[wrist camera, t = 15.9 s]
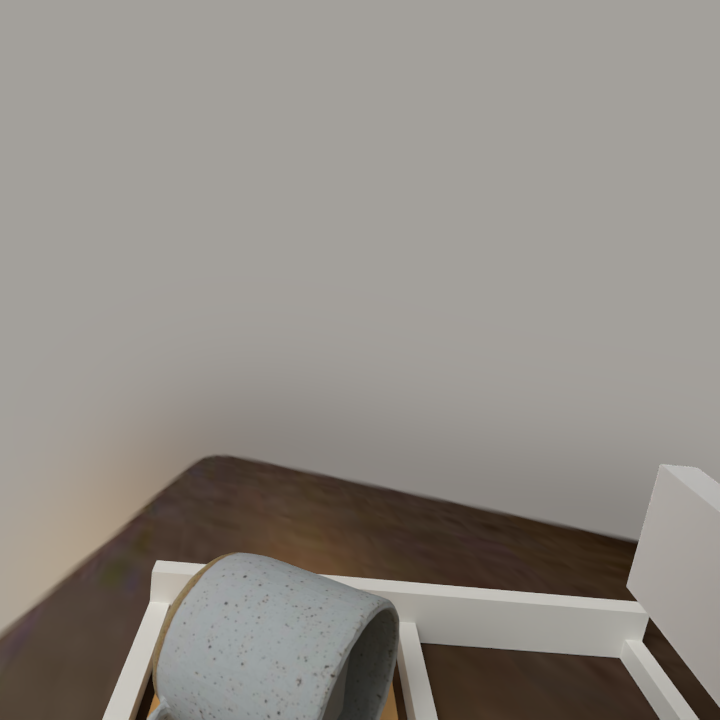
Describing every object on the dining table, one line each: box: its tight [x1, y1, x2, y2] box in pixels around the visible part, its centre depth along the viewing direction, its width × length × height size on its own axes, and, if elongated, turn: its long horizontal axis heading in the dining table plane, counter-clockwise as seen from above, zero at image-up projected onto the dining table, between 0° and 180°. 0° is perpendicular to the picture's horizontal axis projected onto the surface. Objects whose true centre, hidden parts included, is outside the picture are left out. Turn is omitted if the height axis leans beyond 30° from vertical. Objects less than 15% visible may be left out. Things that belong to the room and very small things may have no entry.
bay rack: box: [102, 560, 699, 720], centre depth 28 cm, size 27×14×3 cm, turn 94°
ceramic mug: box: [147, 552, 399, 720], centre depth 24 cm, size 11×8×8 cm
